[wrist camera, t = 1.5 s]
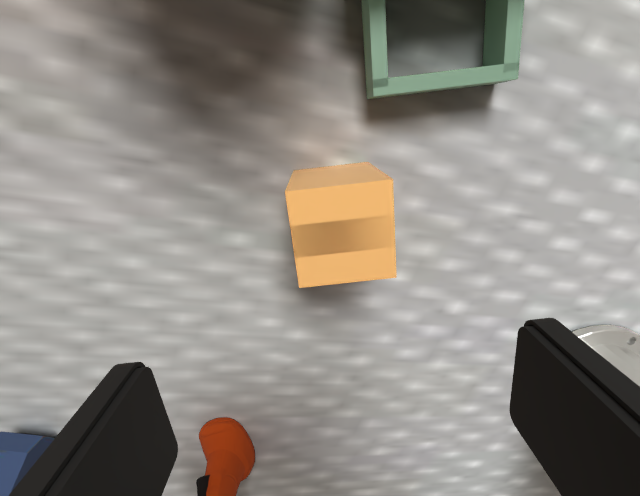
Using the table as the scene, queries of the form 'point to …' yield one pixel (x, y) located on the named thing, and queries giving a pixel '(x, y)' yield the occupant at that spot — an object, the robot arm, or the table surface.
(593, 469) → the robot arm
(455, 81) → the green drawer box
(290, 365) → the table surface
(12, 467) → the glue gun
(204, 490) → the toy drill
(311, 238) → the orange rectangular block
